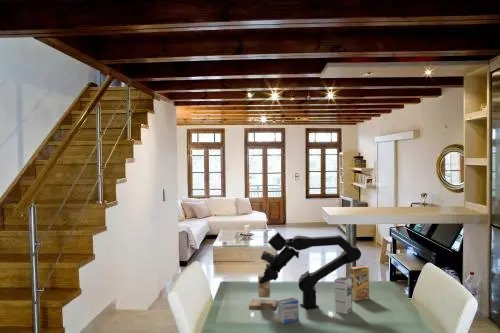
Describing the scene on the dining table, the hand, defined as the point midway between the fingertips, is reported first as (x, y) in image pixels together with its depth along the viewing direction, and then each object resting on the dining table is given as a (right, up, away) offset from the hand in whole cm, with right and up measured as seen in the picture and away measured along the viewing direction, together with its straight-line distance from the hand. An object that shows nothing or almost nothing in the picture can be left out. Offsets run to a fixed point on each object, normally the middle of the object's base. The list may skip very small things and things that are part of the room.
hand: (260, 281), depth 202 cm
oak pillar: (+2, -7, 0) cm, 7 cm away
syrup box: (+37, -11, -9) cm, 39 cm away
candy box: (+48, -10, +8) cm, 49 cm away
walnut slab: (+1, -12, 0) cm, 12 cm away
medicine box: (+11, -12, -18) cm, 25 cm away
